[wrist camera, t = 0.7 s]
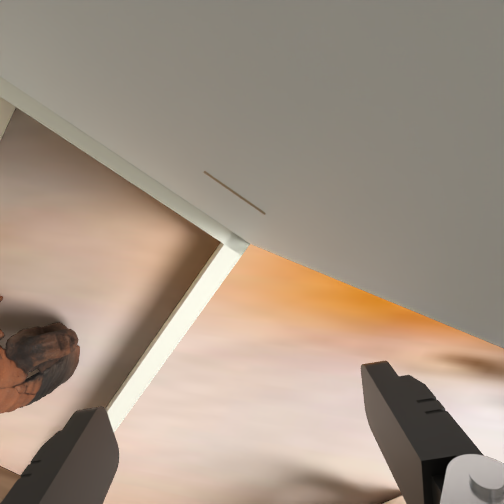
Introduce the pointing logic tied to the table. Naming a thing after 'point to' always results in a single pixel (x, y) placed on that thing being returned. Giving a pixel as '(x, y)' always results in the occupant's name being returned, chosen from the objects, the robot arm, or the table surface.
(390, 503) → the watering can
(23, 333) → the pottery mug
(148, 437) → the table surface
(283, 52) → the cold frame
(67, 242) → the table surface
